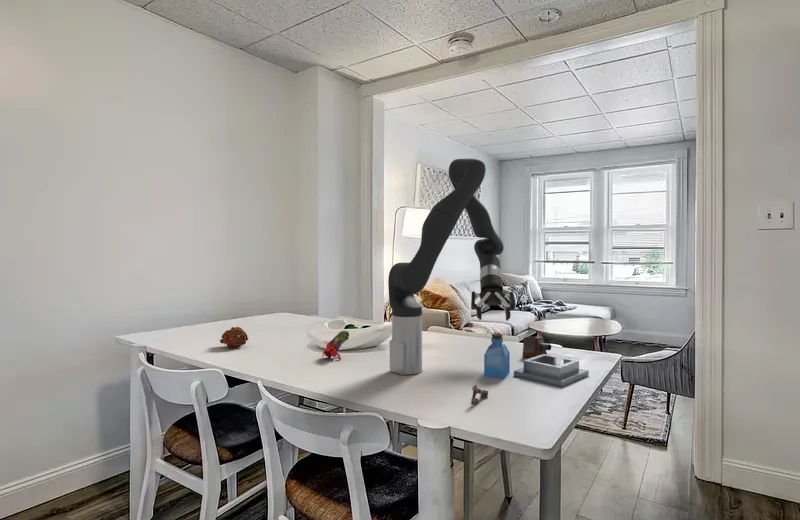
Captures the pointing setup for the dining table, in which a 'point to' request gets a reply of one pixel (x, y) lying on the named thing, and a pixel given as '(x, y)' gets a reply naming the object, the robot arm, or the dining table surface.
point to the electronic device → (534, 347)
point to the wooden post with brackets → (479, 391)
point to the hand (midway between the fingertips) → (493, 318)
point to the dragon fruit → (234, 337)
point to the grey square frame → (551, 370)
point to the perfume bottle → (497, 358)
